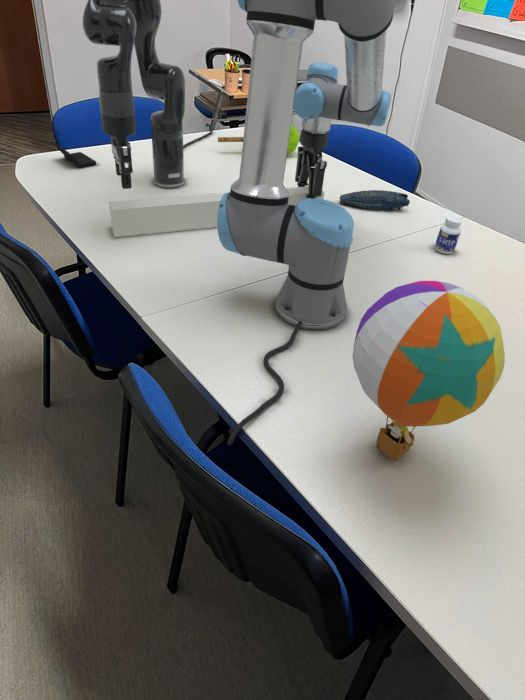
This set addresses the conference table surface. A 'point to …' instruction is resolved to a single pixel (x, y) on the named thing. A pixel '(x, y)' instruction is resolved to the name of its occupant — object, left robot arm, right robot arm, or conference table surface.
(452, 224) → the pill bottle
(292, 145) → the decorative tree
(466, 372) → the toy
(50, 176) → the conference table surface
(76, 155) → the black handled tool
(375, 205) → the fish model
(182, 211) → the beam
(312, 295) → the right robot arm
